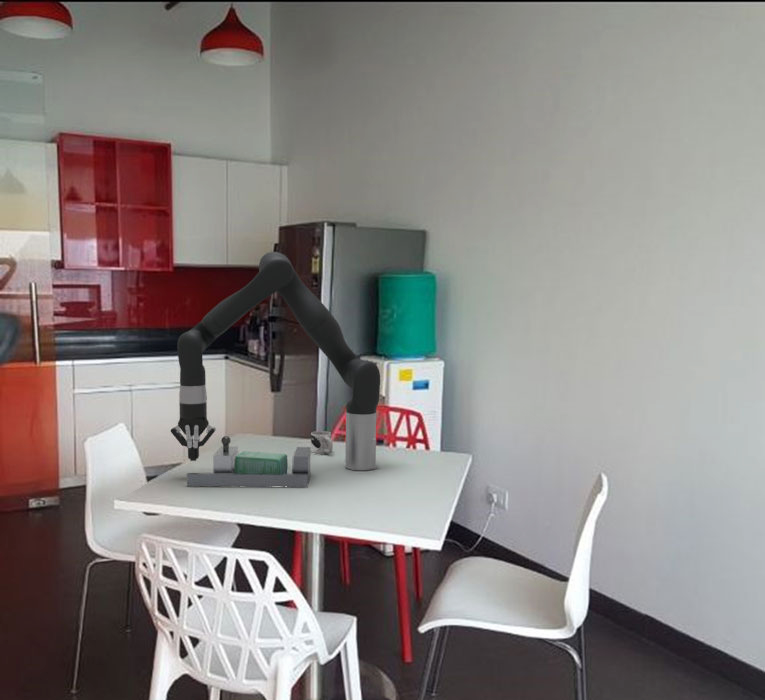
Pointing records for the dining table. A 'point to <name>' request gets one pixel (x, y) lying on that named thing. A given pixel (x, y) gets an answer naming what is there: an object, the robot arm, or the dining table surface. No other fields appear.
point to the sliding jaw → (225, 457)
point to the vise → (259, 475)
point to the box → (261, 463)
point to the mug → (321, 442)
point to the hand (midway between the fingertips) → (193, 460)
